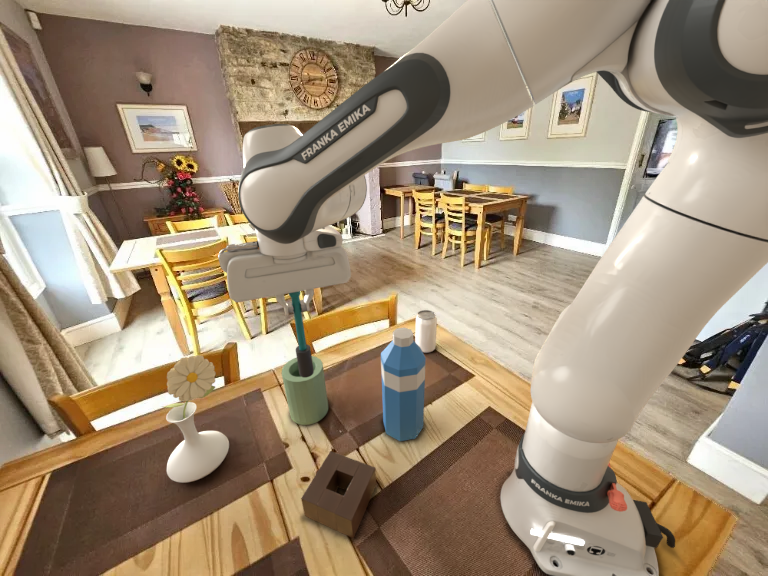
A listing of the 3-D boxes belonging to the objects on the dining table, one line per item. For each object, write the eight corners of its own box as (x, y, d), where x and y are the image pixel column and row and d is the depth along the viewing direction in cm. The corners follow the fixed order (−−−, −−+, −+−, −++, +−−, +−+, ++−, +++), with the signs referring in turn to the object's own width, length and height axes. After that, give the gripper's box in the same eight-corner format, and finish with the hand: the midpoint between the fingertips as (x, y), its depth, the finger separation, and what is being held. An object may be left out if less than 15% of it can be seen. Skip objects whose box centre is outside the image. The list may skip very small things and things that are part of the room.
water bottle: (421, 444, 67) (424, 349, 56) (379, 438, 69) (374, 344, 58) (424, 411, 75) (428, 322, 65) (387, 406, 77) (384, 319, 67)
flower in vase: (169, 500, 58) (118, 398, 47) (168, 454, 66) (125, 359, 56) (243, 463, 64) (213, 366, 54) (233, 425, 73) (205, 336, 62)
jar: (335, 401, 79) (330, 360, 73) (314, 429, 71) (307, 385, 66) (304, 392, 82) (297, 352, 77) (282, 418, 74) (272, 375, 69)
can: (424, 339, 103) (425, 307, 98) (439, 347, 99) (441, 314, 94) (410, 346, 99) (411, 314, 94) (425, 356, 95) (427, 322, 90)
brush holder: (376, 484, 59) (375, 467, 57) (353, 538, 51) (351, 520, 49) (332, 467, 63) (330, 450, 60) (304, 516, 55) (301, 498, 52)
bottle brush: (316, 370, 63) (305, 285, 55) (308, 379, 61) (295, 292, 52) (304, 366, 64) (292, 283, 56) (296, 375, 62) (282, 289, 53)
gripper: (214, 252, 44) (235, 334, 50) (351, 235, 51) (355, 308, 57) (216, 240, 49) (235, 316, 55) (340, 226, 57) (345, 294, 62)
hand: (297, 311), depth 56 cm, fingers closed on bottle brush
